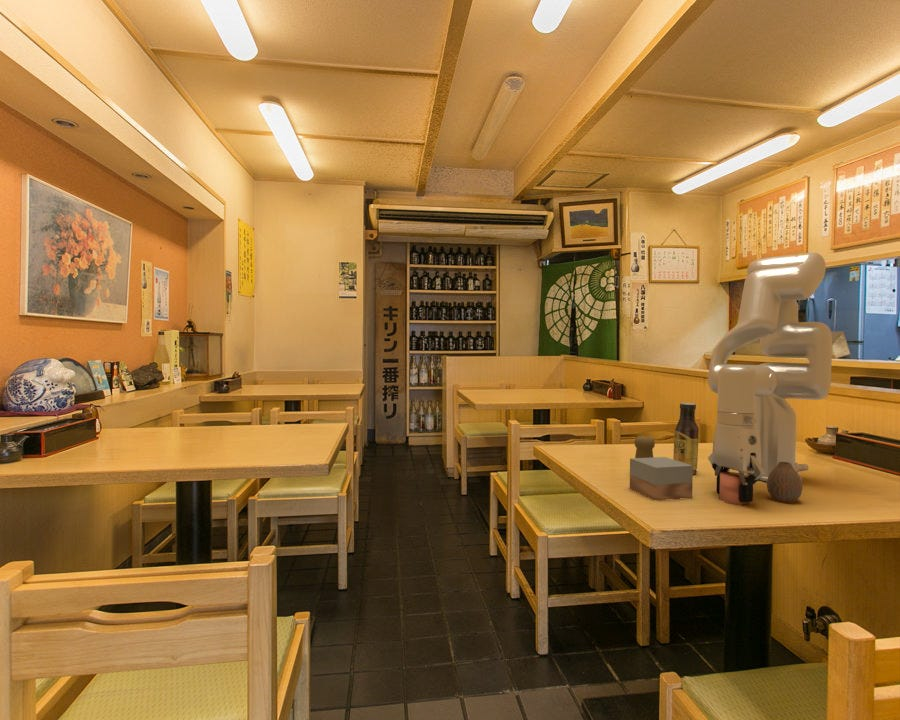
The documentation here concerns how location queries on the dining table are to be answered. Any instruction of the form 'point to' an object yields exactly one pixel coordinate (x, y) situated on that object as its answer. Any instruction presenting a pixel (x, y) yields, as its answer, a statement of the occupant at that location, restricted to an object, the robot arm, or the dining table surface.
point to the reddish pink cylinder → (730, 487)
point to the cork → (644, 447)
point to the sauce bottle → (686, 436)
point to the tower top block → (661, 470)
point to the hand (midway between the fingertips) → (734, 496)
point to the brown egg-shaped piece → (784, 483)
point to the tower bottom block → (661, 489)
